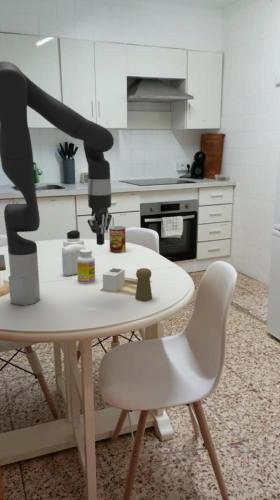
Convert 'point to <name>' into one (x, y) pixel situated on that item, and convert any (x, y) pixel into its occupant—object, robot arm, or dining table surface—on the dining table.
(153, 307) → the dining table surface
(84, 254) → the supplement bottle
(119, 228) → the canned food
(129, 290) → the board
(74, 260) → the photo printer
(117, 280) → the white box
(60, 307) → the dining table surface
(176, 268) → the dining table surface
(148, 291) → the cork
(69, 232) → the medicine bottle
